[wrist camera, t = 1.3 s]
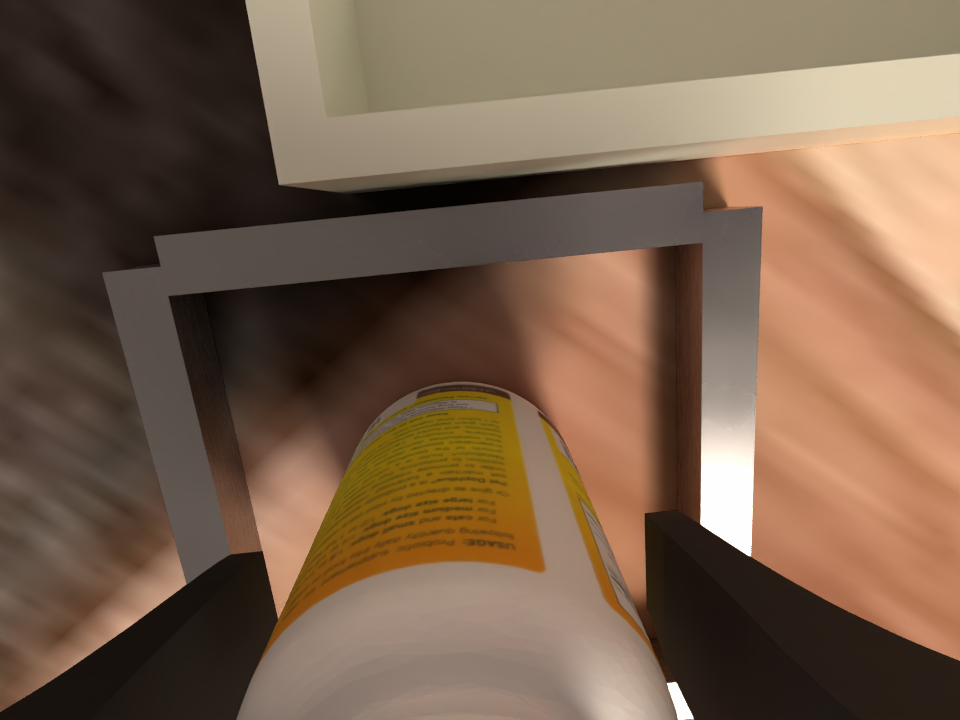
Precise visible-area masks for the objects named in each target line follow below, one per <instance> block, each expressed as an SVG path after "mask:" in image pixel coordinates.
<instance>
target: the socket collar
mask: <svg viewBox="0 0 960 720" xmlns="http://www.w3.org/2000/svg"><path fill="white" fill-rule="evenodd" d="M762 209H763V207H722V208H712V209H703V181H702V182H692V183H682V184H672V185H662V186H652V187H642V188H632V189H622V190H612V191H602V192H592V193H582V194H572V195H562V196H552V197H542V198H532V199H522V200H512V201H502V202H492V203H482V204H472V205H462V206H452V207H442V208H432V209H422V210H412V211H402V212H392V213H382V214H372V215H362V216H352V217H342V218H332V219H322V220H312V221H302V222H292V223H282V224H273V225H263V226H253V227H243V228H233V229H223V230H213V231H203V232H193V233H183V234H173V235H163V236H154V240H155V245H156V249H157V253H158V257H159V261H160V264H152V265H143V266H137V267H131V268H125V269H119V270H114V271H108V272H102V274H103V278H104V281H105V285H106V289H107V292H108V296H109V300H110V303H111V307H112V311H113V314H114V318H115V322H116V325H117V329H118V333H119V337H120V340H121V344H122V348H123V351H124V355H125V359H126V362H127V366H128V370H129V373H130V377H131V381H132V384H133V388H134V392H135V395H136V399H137V403H138V406H139V410H140V414H141V417H142V421H143V425H144V429H145V432H146V436H147V440H148V443H149V447H150V451H151V454H152V458H153V462H154V465H155V469H156V473H157V476H158V480H159V484H160V487H161V491H162V495H163V498H164V502H165V506H166V509H167V513H168V517H169V520H170V524H171V528H172V532H173V535H174V539H175V543H176V546H177V550H178V554H179V557H180V561H181V565H182V568H183V572H184V576H185V579H186V583H187V584H188V583H190V582H191V581H192V580H194V579H195V578H196V577H198V576H199V575H200V574H202V573H203V572H205V571H206V570H207V569H209V568H210V567H212V566H213V565H214V564H216V563H217V562H219V561H220V560H222V559H224V558H225V557H227V556H228V555H230V554H238V553H248V552H258V551H262V550H261V545H260V541H259V537H258V532H257V528H256V523H255V519H254V515H253V510H252V506H251V501H250V497H249V493H248V488H247V484H246V479H245V475H244V471H243V466H242V462H241V457H240V453H239V449H238V444H237V440H236V435H235V431H234V427H233V422H232V418H231V413H230V409H229V404H228V400H227V396H226V391H225V387H224V382H223V378H222V374H221V369H220V365H219V360H218V356H217V352H216V347H215V343H214V338H213V334H212V330H211V325H210V321H209V316H208V312H207V308H206V303H205V299H204V294H203V292H213V291H223V290H233V289H243V288H253V287H263V286H273V285H283V284H293V283H303V282H313V281H324V280H334V279H344V278H354V277H364V276H374V275H384V274H394V273H404V272H414V271H424V270H434V269H444V268H454V267H464V266H474V265H484V264H494V263H504V262H514V261H524V260H534V259H544V258H554V257H564V256H575V255H585V254H595V253H605V252H615V251H625V250H635V249H645V248H655V247H665V246H675V245H676V246H677V460H678V511H680V512H681V513H683V514H685V515H686V516H688V517H690V518H691V519H693V520H694V521H696V522H698V523H699V524H701V525H702V526H704V527H705V528H707V529H708V530H710V531H711V532H713V533H714V534H716V535H718V536H719V537H721V538H722V539H724V540H725V541H727V542H728V543H730V544H731V545H733V546H735V547H736V548H738V549H739V550H741V551H742V552H744V553H745V554H747V555H749V556H750V557H751V531H752V501H753V472H754V443H755V414H756V385H757V355H758V326H759V297H760V268H761V239H762ZM649 641H650V643H651V646H652V648H653V651H654V653H655V655H656V657H657V659H658V662H659V664H660V667H661V669H662V672H663V674H664V677H665V679H666V682H667V684H668V688H669V691H670V694H671V697H672V699H673V702H674V705H675V709H676V712H677V715H678V720H679V719H689V718H693V716H692V714H691V712H690V710H689V708H688V706H687V704H686V702H685V700H684V698H683V696H682V694H681V691H680V689H679V687H678V685H677V683H676V681H675V679H674V677H673V675H672V673H671V671H670V669H669V666H668V664H667V662H666V660H665V658H664V655H663V652H662V649H661V646H660V644H659V641H658V639H651V640H649Z"/></svg>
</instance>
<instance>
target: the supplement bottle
mask: <svg viewBox="0 0 960 720" xmlns="http://www.w3.org/2000/svg"><path fill="white" fill-rule="evenodd" d="M237 720H678V715H677V712H676V709H675V705H674V702H673V699H672V697H671V694H670V691H669V688H668V684H667V682H666V679H665V677H664V674H663V672H662V669H661V667H660V664H659V662H658V659H657V657H656V655H655V653H654V651H653V648H652V646H651V643H650V641H649V638H648V636H647V634H646V631H645V629H644V626H643V624H642V621H641V619H640V617H639V615H638V613H637V611H636V608H635V606H634V603H633V601H632V598H631V596H630V593H629V591H628V589H627V586H626V584H625V581H624V579H623V577H622V574H621V572H620V570H619V567H618V565H617V563H616V560H615V557H614V555H613V552H612V550H611V548H610V546H609V543H608V541H607V538H606V536H605V534H604V531H603V529H602V526H601V524H600V522H599V520H598V518H597V515H596V512H595V510H594V508H593V506H592V503H591V501H590V498H589V496H588V494H587V491H586V489H585V487H584V485H583V482H582V480H581V477H580V475H579V473H578V470H577V468H576V466H575V464H574V462H573V459H572V457H571V455H570V452H569V450H568V448H567V446H566V444H565V442H564V440H563V438H562V437H561V435H560V434H559V432H558V430H557V429H556V427H555V426H554V425H553V424H552V422H551V421H550V420H549V419H548V418H547V417H546V416H545V415H544V414H543V413H542V412H541V411H540V410H539V409H538V408H536V407H535V406H534V405H533V404H531V403H530V402H528V401H527V400H525V399H524V398H522V397H520V396H518V395H517V394H514V393H512V392H510V391H508V390H505V389H502V388H500V387H496V386H492V385H488V384H483V383H476V382H448V383H440V384H435V385H431V386H428V387H425V388H422V389H419V390H417V391H414V392H412V393H410V394H408V395H406V396H404V397H402V398H400V399H399V400H397V401H396V402H394V403H393V404H392V405H391V406H389V407H388V408H387V409H385V410H384V411H383V412H382V413H381V414H380V415H379V416H378V417H377V418H376V419H375V421H374V422H373V423H372V424H371V425H370V426H369V428H368V429H367V431H366V432H365V434H364V435H363V437H362V438H361V440H360V442H359V444H358V446H357V448H356V450H355V452H354V454H353V456H352V458H351V461H350V463H349V465H348V467H347V469H346V472H345V474H344V476H343V479H342V481H341V483H340V485H339V487H338V489H337V491H336V494H335V496H334V498H333V500H332V502H331V505H330V507H329V509H328V511H327V513H326V515H325V517H324V520H323V522H322V524H321V527H320V529H319V531H318V533H317V535H316V537H315V540H314V542H313V544H312V547H311V549H310V551H309V553H308V556H307V558H306V560H305V562H304V564H303V567H302V569H301V571H300V573H299V575H298V578H297V580H296V582H295V584H294V586H293V588H292V591H291V593H290V595H289V598H288V600H287V602H286V604H285V607H284V609H283V611H282V613H281V615H280V617H279V619H278V622H277V624H276V626H275V628H274V631H273V633H272V635H271V637H270V640H269V642H268V644H267V646H266V649H265V651H264V653H263V655H262V657H261V659H260V662H259V664H258V666H257V668H256V670H255V672H254V675H253V677H252V679H251V681H250V684H249V687H248V689H247V692H246V694H245V697H244V699H243V702H242V705H241V708H240V710H239V713H238V716H237Z"/></svg>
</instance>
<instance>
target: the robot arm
mask: <svg viewBox="0 0 960 720" xmlns="http://www.w3.org/2000/svg"><path fill="white" fill-rule="evenodd" d="M645 549H646V594H647V609H648V612H649V615H650V617H651V620H652V623H653V626H654V629H655V632H656V635H657V638H658V641H659V644H660V646H661V649H662V652H663V655H664V658H665V660H666V662H667V664H668V666H669V669H670V671H671V673H672V675H673V677H674V679H675V681H676V683H677V685H678V687H679V689H680V691H681V694H682V696H683V698H684V700H685V702H686V704H687V706H688V708H689V710H690V712H691V714H692V716H693V718H694V720H960V661H958V660H956V659H953V658H951V657H948V656H946V655H943V654H941V653H938V652H936V651H933V650H931V649H928V648H926V647H924V646H921V645H919V644H917V643H914V642H912V641H910V640H907V639H905V638H903V637H901V636H898V635H896V634H894V633H892V632H890V631H888V630H886V629H883V628H881V627H879V626H877V625H875V624H873V623H871V622H869V621H866V620H864V619H862V618H860V617H858V616H856V615H854V614H852V613H850V612H848V611H846V610H844V609H842V608H840V607H838V606H836V605H834V604H832V603H830V602H828V601H826V600H824V599H823V598H821V597H819V596H817V595H815V594H814V593H812V592H810V591H808V590H806V589H805V588H803V587H801V586H799V585H797V584H796V583H794V582H792V581H790V580H788V579H787V578H785V577H783V576H782V575H780V574H778V573H777V572H775V571H773V570H771V569H770V568H768V567H767V566H765V565H763V564H762V563H760V562H758V561H757V560H755V559H754V558H752V557H750V556H749V555H747V554H745V553H744V552H742V551H741V550H739V549H738V548H736V547H735V546H733V545H731V544H730V543H728V542H727V541H725V540H724V539H722V538H721V537H719V536H718V535H716V534H714V533H713V532H711V531H710V530H708V529H707V528H705V527H704V526H702V525H701V524H699V523H698V522H696V521H694V520H693V519H691V518H690V517H688V516H686V515H685V514H683V513H681V512H680V511H678V510H674V511H664V512H654V513H645ZM277 622H278V617H277V613H276V608H275V604H274V599H273V595H272V591H271V586H270V582H269V577H268V573H267V569H266V564H265V560H264V555H263V551H258V552H248V553H238V554H230V555H228V556H227V557H225V558H224V559H222V560H220V561H219V562H217V563H216V564H214V565H213V566H212V567H210V568H209V569H207V570H206V571H205V572H203V573H202V574H200V575H199V576H198V577H196V578H195V579H194V580H192V581H191V582H190V583H188V584H187V585H185V586H184V587H183V588H181V589H180V590H179V591H177V592H176V593H175V594H173V595H172V596H171V597H169V598H168V599H167V600H165V601H164V602H163V603H161V604H160V605H159V606H157V607H156V608H155V609H153V610H152V611H150V612H149V613H148V614H146V615H145V616H144V617H142V618H141V619H140V620H138V621H137V622H136V623H134V624H133V625H132V626H130V627H129V628H127V629H126V630H125V631H123V632H122V633H120V634H119V635H117V636H116V637H114V638H113V639H112V640H110V641H109V642H107V643H106V644H104V645H103V646H102V647H100V648H99V649H97V650H96V651H94V652H93V653H91V654H90V655H89V656H87V657H86V658H84V659H83V660H81V661H80V662H79V663H77V664H76V665H74V666H73V667H71V668H70V669H68V670H67V671H65V672H64V673H62V674H61V675H59V676H58V677H56V678H55V679H53V680H52V681H50V682H49V683H47V684H45V685H44V686H42V687H41V688H39V689H38V690H36V691H34V692H33V693H31V694H30V695H28V696H26V697H25V698H23V699H21V700H20V701H18V702H16V703H15V704H13V705H11V706H10V707H8V708H6V709H5V710H3V711H2V712H0V720H237V716H238V713H239V710H240V708H241V705H242V702H243V699H244V697H245V694H246V692H247V689H248V687H249V684H250V681H251V679H252V677H253V675H254V672H255V670H256V668H257V666H258V664H259V662H260V659H261V657H262V655H263V653H264V651H265V649H266V646H267V644H268V642H269V640H270V637H271V635H272V633H273V631H274V628H275V626H276V624H277Z"/></svg>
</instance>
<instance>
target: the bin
mask: <svg viewBox="0 0 960 720" xmlns="http://www.w3.org/2000/svg"><path fill="white" fill-rule="evenodd" d="M245 1H246V7H247V12H248V18H249V23H250V29H251V34H252V40H253V45H254V51H255V56H256V62H257V67H258V73H259V78H260V84H261V89H262V95H263V100H264V106H265V111H266V117H267V122H268V128H269V133H270V139H271V144H272V150H273V155H274V161H275V166H276V172H277V177H278V183H279V185H284V186H292V187H300V188H308V189H315V190H323V191H331V192H338V193H346V194H353V193H363V192H373V191H383V190H393V189H403V188H413V187H423V186H433V185H443V184H453V183H463V182H473V181H483V180H493V179H503V178H513V177H523V176H533V175H542V174H552V173H562V172H572V171H582V170H592V169H602V168H612V167H622V166H632V165H642V164H652V163H662V162H672V161H682V160H692V159H702V158H712V157H722V156H732V155H742V154H752V153H762V152H771V151H781V150H791V149H801V148H811V147H821V146H831V145H841V144H851V143H861V142H871V141H881V140H891V139H901V138H911V137H921V136H931V135H941V134H951V133H960V0H245Z"/></svg>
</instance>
